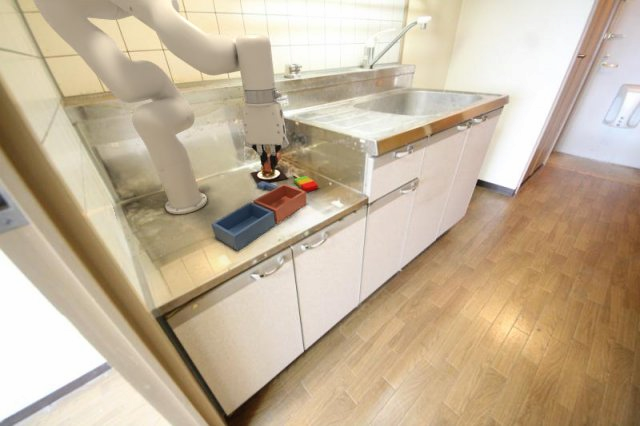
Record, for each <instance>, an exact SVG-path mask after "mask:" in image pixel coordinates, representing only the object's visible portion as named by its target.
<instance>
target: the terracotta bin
mask: <svg viewBox="0 0 640 426" xmlns="http://www.w3.org/2000/svg"><path fill="white" fill-rule="evenodd" d="M252 203H254V204H256V205H259V206H261V207H263V208H266V209H268V210H270V211H272V212H273V213H274V220H275V224H277V225H278V224H280V223H281V222H283V221H284V220H286V219H287V218H288V217H290V216H291V215H292V214H294V213H296V212H297V211H298V210H300V209H301V208H303V207H305V205H307V192H306V191H304V190H303V189H301V188H297V187H294V186H291V185H288V184H286V183H283V184H281V185H279V187H277V188H275V189H274V190H272V191H268V192H266V193H264V194H263V195H261V196H258V197H257V198H255V199H254V200H253V201H252Z"/></svg>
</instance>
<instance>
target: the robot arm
mask: <svg viewBox="0 0 640 426" xmlns="http://www.w3.org/2000/svg"><path fill="white" fill-rule="evenodd" d="M32 1H33V3H34V5H35V7H36V8H37V9H36V10H38V12H39V14H40V15H41V16H42V18H43V20H44V21H45V22H46V23H47V24H48V26H49V27H50V28H51V29H52V30H53V31H54V32H55V33H56V34H57V35H58V36H59V37H60V38H61V39H62V40H63V41H64V42H65V43H66V44H67V45H68V46H70V47H71V48H72V50H73V51H75V53H77V54H78V56H79V57H80V58H81V59H82V60H83V62H84V63H85V64H86V65H87V66H88V67H89V69H90V70H91V71H92V72H93V73H94V74H95V76H96V77H97V78H98V79H99V80H100V81H101V82H102V84H104V86H105V87H106V88H107V89H108V90H109V91H110V92H111V94H112V95H113V96H114V97H115V98H116V99H118V100H119V101H121V102H123V103H126V104H127V103H128V104H132V103H133V104H134V103H139V102H143V101H148V100H151V101H149V102H146V103H143V104H141V105H139V106H138V107H137V108H135V109H134V110H133V112H132V116H131V121H132V125H133V127H134V129H135V131H136V132H137V133H138V136H139V137H140V139H141V140H142V142H143V143H144V145H145V147H146V149H147V152H148V154H149V156H150V158H151V161H152V164H154V168H155V171H156V173H157V175H158V177H159V180H160V182H161V185H162V187H163V190H164V193H165V195H166V197H167V200H168V201H166V203H165V207H164V208H165V210H166V211H167V212H168V213H170V214H173V215H184V214H185V215H186V214H190V213H192V212H196V211H197V210H199V209H201V208H202V207H204V206H205V205H206V204H207V203H208V197H207V195H206V194H205V193H202V192H201V191H200V188H199V185H198V182H197V179H196V176H195V173H194V170H193V166H192V163H191V160H190V157H189V154H188V151H187V149H186V147H185V145H184V144H183V143H182V141H180V139H179V138H178V136H177V135H178V134H179V133H182V132H184V131H187V130H189V129H190V128H191V127H192V126H193V125H194V123H195V120H196V119H195V113H194V110H193V108H192V107H191V105H190V103H189V101H188V100H187V99H186V98H185V96H184V94H182V92H181V91H180V90H179V88H178V87H177V86H176V84H175V83H174V81H172V79H171V77H170V76H169V75H168V74H167V73H166V72H165V70H164V69H163V68H161V67H160V66H159V65H157V64H156V63H154V62H152V61H149V60H142V59H141V60H140V59H139V60H132V59H130V58H129V57H128V56H127V54H125V53H124V51H122V50H121V48H120V47H119V46H118V44H117V43H116V42H115V41H114V40H113V39H112V38H111V36H110V35H108V33H106V32H105V31H104V30H102V29H101V28H100V27H98V26H97V25H96V24H94V23H93V22H92V21H90V20H89V19H96V20H97V19H99V20H106V21H108V20H109V21H117V20H119V21H120V20H123V19H126V18H129V17H134V19H137V20H138V21H139V22H141V23H143V24H144V25H145V26H147V27H148V28H150V29H151V30H153V31H154V32H155V33H156V36H158V39H159V40H160V42H161V43H162V44H163V46H164V47H165V48H166V49H167V50H168V51H169V52H170V53H171V54H172V55H174V56H175V57H176V58H178V59H179V60H181V61H182V62H184V63H185V64H187V65H189V66H190V67H191V68H193V69H195V71H198V72H199V73H202V74H204V75H207V76H220V75H226V74H232V73H236V72H239V73H240V78H241V79H240V80H241V85H242V91H243V96H244V102H243V104H242V121H243V122H242V123H243V132H244V136H245V139H244V146H245V147H247V148H250V149H252V150H254V151H255V152H256V153H257V155H258V156H259V159H260V165H261V166H262V165H263V169H265V168H264V163H265V162H266V160H267V159H268V156H269V155H270V154H269V155H268V152H267V151H266V148H265V145H269V147H270V153H271V155H270V162H271V169H272V170H274V169H275V168H277V166H278V164H279V162H278V161H277V153H279V152H280V150H282V149H285V148H288V147H289V145H290V142H289V140H288V138H287V128H286V123H285V117H284V111H283V108H282V104H281V101H279V100H278V99H279V98H281V99H282V97H283V95H282V91H279V90H277V88H276V81H275V73H274V64H273V52H272V45H271V41H270V39H269V37H268V36H267V35H264V34H240V35H238V36H236V35H229V34H221V33H208V32H206V31H204V30H202V29H200V28H199V27H198V26H196V25H195V24H194V23H192V22H191V21H189V20H188V19H186V18H185V17H184V16H182V15H181V14H180V5H179V2H178V0H32ZM88 18H89V19H88Z"/></svg>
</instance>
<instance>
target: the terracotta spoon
mask: <svg viewBox="0 0 640 426" xmlns="http://www.w3.org/2000/svg"><path fill="white" fill-rule="evenodd" d="M270 155H271V152H270V154H269V155H268V159H267V160H266V162H265V163H264V168H265V171H271V170H272V169H271V162H270ZM281 159H282V153H281V152H278V153H277V161H278V163H280V161H281Z"/></svg>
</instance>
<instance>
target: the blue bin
mask: <svg viewBox="0 0 640 426" xmlns="http://www.w3.org/2000/svg"><path fill="white" fill-rule="evenodd" d="M210 225H211V228H212V231H213V235H214V237H215V239H217V240H218V241H220V242H222V243H224V244H225V245H227V246H229V247H230V248H232V249H233V250H235V251H237V252H238V251H240V250H241V249H243V248H244V247H246V246H247V245H249V244H251V243H252V242H253V241H255V240H256V239H258V238H259V237H261V236H262V235H264V234H265V233H266V232H268V231H269V230H271V229H272V228H274V227H275V226H276V223H275V220H274V213H273V212H272V211H270V210H268V209H266V208H263V207H261V206H259V205H256V204H254V203H253V201H250V202H248V203H246V204H245V205H242V206H240V207H239V208H237V209H235V210H233V211H232V212H230V213H228V214H226V215H225V216H223V217H221V218H219V219H217V220H215V221H214V222H212V223H211V224H210Z"/></svg>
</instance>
